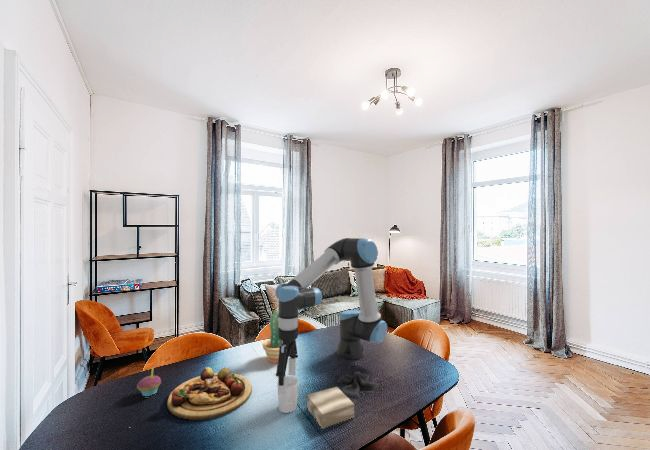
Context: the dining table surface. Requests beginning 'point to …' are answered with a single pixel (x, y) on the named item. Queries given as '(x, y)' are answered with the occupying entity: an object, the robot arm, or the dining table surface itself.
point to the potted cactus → (273, 339)
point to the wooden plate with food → (209, 395)
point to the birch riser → (330, 406)
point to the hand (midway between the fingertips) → (287, 383)
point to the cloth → (357, 384)
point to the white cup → (289, 396)
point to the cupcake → (149, 384)
